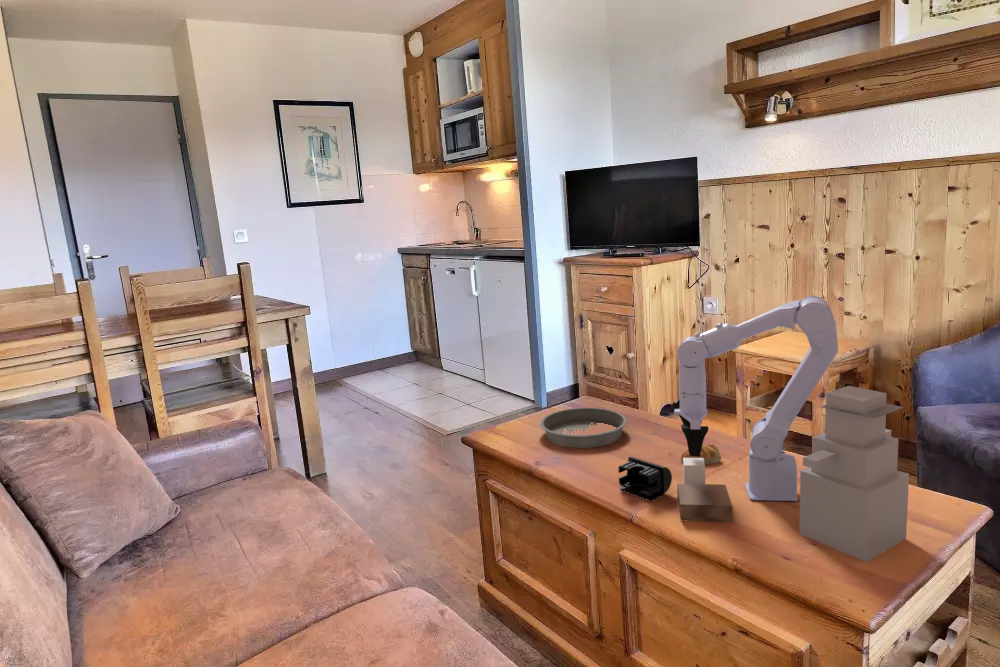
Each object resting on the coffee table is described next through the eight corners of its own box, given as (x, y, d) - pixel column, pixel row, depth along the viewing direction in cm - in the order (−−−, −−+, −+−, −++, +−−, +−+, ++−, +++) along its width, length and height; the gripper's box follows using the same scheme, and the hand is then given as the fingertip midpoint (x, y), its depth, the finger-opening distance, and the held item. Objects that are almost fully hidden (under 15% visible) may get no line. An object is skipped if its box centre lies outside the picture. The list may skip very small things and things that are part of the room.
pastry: (689, 468, 158) (689, 453, 158) (675, 459, 165) (675, 445, 164) (723, 462, 160) (723, 448, 160) (708, 453, 167) (708, 439, 166)
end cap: (672, 492, 146) (672, 464, 145) (652, 502, 142) (651, 473, 140) (637, 480, 154) (636, 453, 152) (617, 489, 149) (616, 461, 148)
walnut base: (725, 501, 140) (725, 484, 139) (732, 524, 131) (732, 505, 130) (677, 500, 142) (677, 483, 142) (680, 522, 133) (680, 504, 132)
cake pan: (528, 429, 195) (528, 415, 194) (603, 416, 202) (602, 402, 201) (560, 457, 172) (559, 440, 171) (643, 441, 179) (642, 425, 178)
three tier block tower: (922, 529, 123) (930, 386, 118) (849, 572, 111) (853, 415, 106) (855, 505, 134) (859, 374, 129) (782, 542, 122) (783, 398, 117)
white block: (703, 482, 150) (703, 457, 149) (705, 490, 145) (705, 465, 144) (683, 482, 151) (682, 457, 150) (684, 490, 146) (684, 465, 145)
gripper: (672, 382, 152) (673, 437, 154) (675, 401, 138) (676, 461, 140) (703, 382, 150) (704, 438, 153) (710, 400, 136) (710, 461, 139)
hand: (693, 449), depth 146 cm, fingers open, 7 cm apart
